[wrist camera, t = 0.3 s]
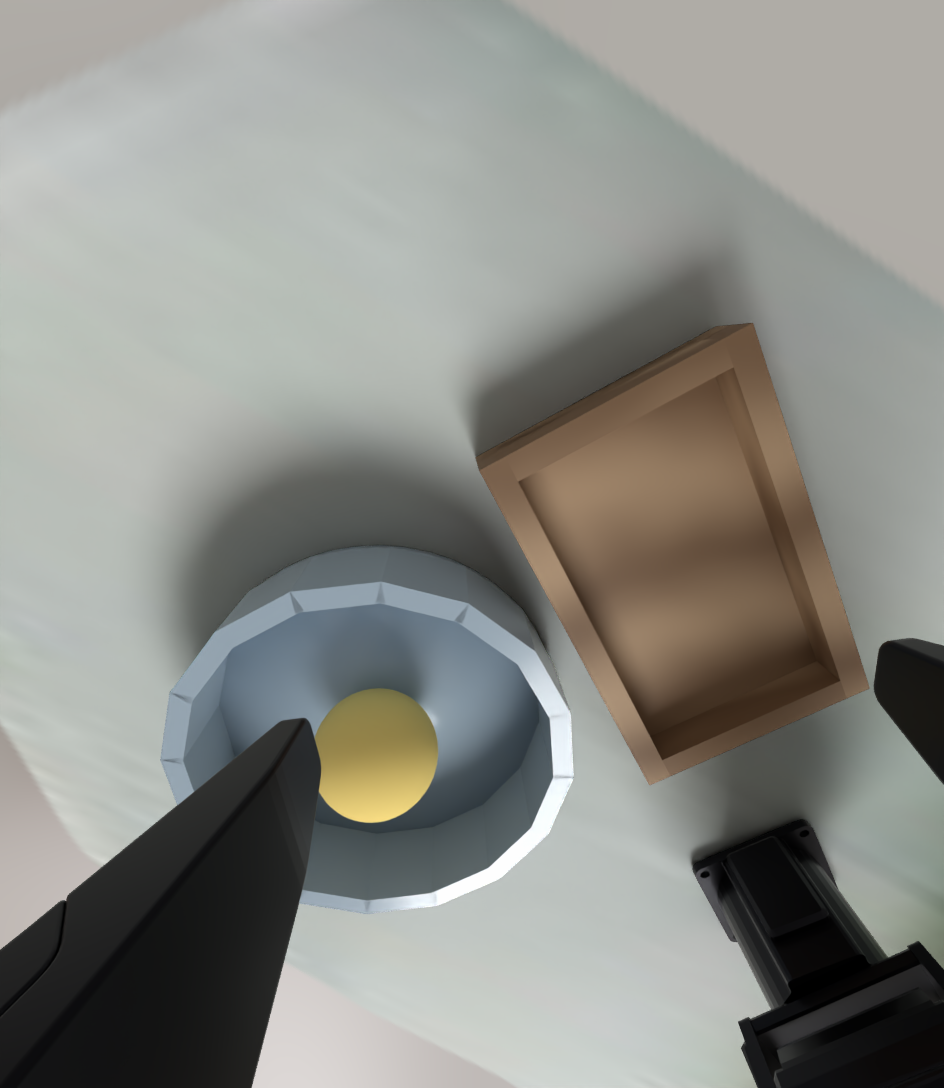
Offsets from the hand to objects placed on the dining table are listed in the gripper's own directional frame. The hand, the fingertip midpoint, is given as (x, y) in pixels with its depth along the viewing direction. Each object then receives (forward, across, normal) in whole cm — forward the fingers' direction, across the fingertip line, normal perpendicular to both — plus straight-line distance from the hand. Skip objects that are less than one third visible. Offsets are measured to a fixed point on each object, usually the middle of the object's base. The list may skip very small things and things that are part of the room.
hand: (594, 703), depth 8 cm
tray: (+14, -6, +4) cm, 16 cm away
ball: (+13, +7, +9) cm, 17 cm away
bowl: (+14, +7, +9) cm, 18 cm away
